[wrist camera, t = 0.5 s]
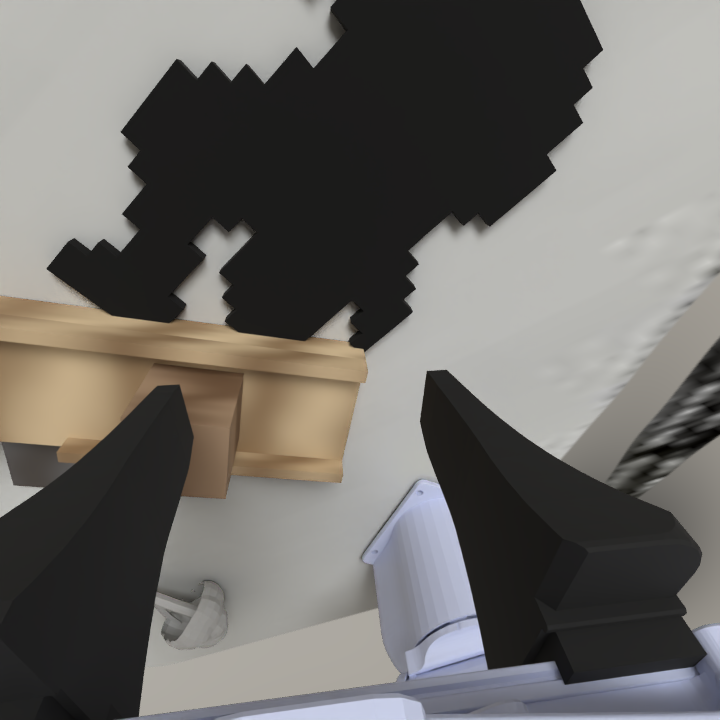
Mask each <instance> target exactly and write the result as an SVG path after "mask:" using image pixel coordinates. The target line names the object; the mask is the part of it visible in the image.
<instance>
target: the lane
mask: <svg viewBox="0 0 720 720" xmlns="http://www.w3.org/2000/svg"><path fill="white" fill-rule="evenodd" d="M154 363H158V364H167V365H176V366H184V367H193V368H202V369H211V370H219V371H228V372H237V373H244V380H243V393H242V406H241V420H240V433H239V441H238V445H237V450H236V454H235V459H234V463H233V467H232V472H231V475H240V476H254V477H267V478H281V479H295V480H308V481H322V482H335V483H341V481H342V477H343V467H342V458H343V454H344V450H345V445H346V441H347V437H348V433H349V428H350V424H351V420H352V416H353V411H354V407H355V403H356V399H357V394H358V390H359V386H360V382H361V383H365V382H366V378H367V374H368V369H367V364H366V359H365V354H364V349H359V348H354V347H353V346H351V345H350V342H345V341H338V340H330V339H323V338H315V337H309V338H308V339H307V340H306V341H298V340H291V339H283V338H275V337H268V336H260V335H253V334H245V333H239V332H237V331H236V330H235V329H234V328H232V327H231V326H224V325H217V324H209V323H202V322H194V321H187V320H179V319H173V320H172V321H171V323H170V324H169V323H162V322H154V321H147V320H139V319H131V318H124V317H116V316H111V315H110V314H109V313H107V312H106V311H104V310H103V309H96V308H88V307H81V306H73V305H66V304H58V303H50V302H43V301H35V300H28V299H20V298H13V297H5V296H0V441H1V442H2V445H3V449H4V452H5V456H6V459H7V463H8V467H9V470H10V474H11V477H12V481H13V485H18V486H33V487H46V486H47V485H49V484H50V483H51V482H52V481H54V480H55V479H56V478H58V477H59V476H60V475H62V474H63V473H64V472H65V471H67V470H68V469H69V468H70V467H72V466H73V465H74V464H75V463H77V462H78V461H79V460H80V459H81V458H82V457H83V456H85V455H86V454H87V453H88V452H89V451H90V450H91V449H92V448H94V447H95V446H96V445H97V444H98V443H99V442H100V441H101V440H103V439H104V438H105V437H106V436H107V435H108V434H109V433H110V432H111V431H112V430H113V429H114V428H115V427H116V426H117V425H118V424H119V423H120V422H121V421H120V418H121V416H122V414H123V413H124V411H125V409H126V408H127V406H128V405H129V403H130V401H131V400H132V398H133V396H134V395H135V393H136V392H137V390H138V388H139V387H140V385H141V383H142V382H143V380H144V379H145V377H146V375H147V374H148V372H149V370H150V369H151V367H152V366H153V364H154Z"/></svg>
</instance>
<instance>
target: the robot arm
mask: <svg viewBox="0 0 720 720" xmlns="http://www.w3.org/2000/svg"><path fill="white" fill-rule="evenodd" d="M420 424H421V428H422V433H423V437H424V441H425V445H426V449H427V453H428V455H429V458H430V461H431V463H432V466H433V469H434V472H435V474H436V477H437V480H438V482H439V484H438V483H434V482H431V481H428V480H419V481H418V482H416V484H415V485H414V486H413V488H412V489H411V490H410V492H409V493H408V494H407V496H406V497H405V499H404V500H403V501H402V503H401V504H400V505H399V507H398V508H397V509H396V511H395V512H394V513H393V515H392V516H391V517H390V519H389V520H388V521H387V523H386V524H385V525H384V527H383V528H382V530H381V531H380V532H379V534H378V535H377V536H376V538H375V539H374V540H373V542H372V543H371V544H370V546H369V547H368V548H367V550H366V551H365V552H364V554H363V556H362V559H363V562H364V563H367V564H372V565H373V570H374V578H375V586H376V594H377V602H378V609H379V618H380V626H381V633H382V639H383V643H384V646H385V649H386V651H387V653H388V656H389V657H390V659H391V661H392V662H393V664H394V666H395V667H396V668H397V670H398V671H399V672H400V673H401V674H400V675H399V676H398V678H397V681H396V682H394V683H387V684H379V685H372V686H364V687H356V688H349V689H342V690H334V691H327V692H320V693H312V694H305V695H297V696H289V697H282V698H275V699H267V700H260V701H252V702H245V703H237V704H230V705H222V706H216V707H207V708H200V709H192V710H185V711H178V712H170V713H163V714H155V715H148V716H141V717H139V709H140V708H139V707H140V700H141V693H142V684H143V676H144V669H145V662H146V655H147V648H148V641H149V635H150V628H151V622H152V616H153V610H154V604H155V598H156V592H157V587H158V582H159V577H160V571H161V566H162V561H163V556H164V552H165V548H166V544H167V540H168V537H169V533H170V530H171V527H172V523H173V520H174V517H175V514H176V510H177V507H178V504H179V500H180V497H181V494H182V491H183V487H184V484H185V480H186V477H187V474H188V470H189V465H190V459H191V453H192V446H193V439H194V435H193V431H192V428H191V424H190V421H189V417H188V413H187V410H186V406H185V402H184V399H183V395H182V391H181V388H180V384H178V385H160V386H156V387H155V388H154V389H153V390H152V391H151V392H150V393H149V394H148V395H147V396H146V397H145V398H144V399H143V400H142V401H141V402H140V403H139V404H138V405H137V406H136V407H135V408H134V409H133V410H132V411H131V412H130V414H129V415H128V416H127V417H126V418H125V419H123V420H122V421H121V422H120V423H119V424H118V425H117V426H116V427H115V428H114V429H113V430H112V431H111V432H110V433H109V434H108V435H107V436H106V437H105V438H104V439H103V440H101V441H100V442H99V443H98V444H97V445H96V446H95V447H94V448H92V449H91V450H90V451H89V452H88V453H87V454H86V455H85V456H83V457H82V458H81V459H80V460H79V461H78V462H77V463H75V464H74V465H73V466H72V467H70V468H69V469H68V470H67V471H65V472H64V473H63V474H62V475H60V476H59V477H58V478H56V479H55V480H54V481H52V482H51V483H50V484H49V485H47V486H46V487H45V488H43V489H42V490H40V491H39V492H38V493H36V494H35V495H33V496H32V497H30V498H29V499H27V500H26V501H24V502H23V503H21V504H20V505H18V506H17V507H15V508H14V509H13V510H11V511H10V512H8V513H7V514H5V515H4V516H2V517H1V518H0V720H720V623H714V624H708V625H704V626H701V627H698V628H696V629H694V630H692V631H691V630H690V628H689V627H688V625H687V624H686V622H685V621H684V620H683V618H682V616H684V615H685V614H686V613H687V612H686V608H685V606H684V605H683V604H682V602H681V601H680V600H679V598H678V597H677V595H676V594H677V593H678V592H679V591H680V590H681V588H682V587H683V586H684V585H685V583H687V581H688V580H689V579H690V578H691V577H692V576H693V574H694V573H695V572H696V570H697V568H698V567H699V565H700V562H701V557H702V552H701V550H700V547H699V546H698V544H697V543H696V542H695V541H694V540H693V538H692V537H691V536H690V535H689V534H688V533H687V531H686V530H685V529H684V528H683V526H682V525H681V524H680V523H679V522H678V520H677V519H676V518H675V517H674V516H673V514H672V513H671V512H669V511H666V510H664V509H662V508H659V507H657V506H654V505H652V504H649V503H647V502H644V501H642V500H640V499H637V498H635V497H632V496H630V495H627V494H625V493H623V492H621V491H619V490H617V489H614V488H612V487H610V486H608V485H606V484H604V483H602V482H600V481H598V480H596V479H594V478H592V477H590V476H588V475H586V474H584V473H582V472H580V471H578V470H577V469H575V468H573V467H571V466H570V465H568V464H566V463H564V462H563V461H561V460H559V459H557V458H556V457H554V456H553V455H551V454H549V453H548V452H546V451H545V450H543V449H542V448H540V447H539V446H537V445H536V444H534V443H533V442H531V441H530V440H528V439H527V438H525V437H524V436H523V435H521V434H520V433H518V432H517V431H516V430H515V429H513V428H512V427H511V426H509V425H508V424H507V423H505V422H504V421H503V420H502V419H500V418H499V417H498V416H497V415H496V414H494V413H493V412H492V411H491V410H490V409H489V408H487V407H486V406H485V405H484V404H483V403H482V402H481V401H479V400H478V399H477V398H476V397H475V396H474V395H473V394H472V393H471V392H470V391H469V390H467V389H466V388H465V387H464V386H463V385H462V384H461V383H460V382H459V381H458V380H457V379H456V378H455V377H454V376H453V375H452V374H450V373H449V372H448V371H447V370H437V371H427V374H426V381H425V389H424V396H423V403H422V411H421V418H420ZM419 490H421V491H419Z"/></svg>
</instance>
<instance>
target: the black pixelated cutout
mask: <svg viewBox="0 0 720 720" xmlns="http://www.w3.org/2000/svg"><path fill="white" fill-rule="evenodd" d="M331 11H332V13H333V14H334V15H335V17H336V18H337V20H338V21H339V22H340V24H341V25H342V26H343V28H344V29H345V31H346V32H345V33H344V35H343V36H342V37H341V38H340V39H339V40H338V41H337V43H336V44H335V45H334V46H333V47H332V48H331V49H330V50H329V52H328V53H327V54H326V55H325V56H324V57H323V58H322V59H321V61H320V62H319V63H318V64H317V65H316V66H315V67H314V68H313V67H312V66H311V65H310V63H309V62H308V61H307V60H306V58H305V57H304V56H303V55H302V53H301V52H300V51H299V49H298V48H297V47H296V48H295V49H294V51H293V52H292V53H291V54H290V55H289V56H288V58H287V59H286V60H285V61H284V62H283V63H282V65H281V66H280V67H279V68H278V69H277V70H276V72H275V73H274V74H273V75H272V76H271V77H270V79H269V80H268V81H267V82H266V83H265V84H264V83H263V82H262V80H261V79H260V78H259V77H258V76H257V75H256V73H255V72H254V71H253V70H252V69H251V68H250V66H249V65H247V64H246V65H245V66H244V67H243V68H242V69H241V71H240V72H239V73H238V74H237V75H236V77H235V78H234V79H233V80H232V81H231V80H230V79H229V78H228V77H227V76H226V75H225V73H224V72H223V71H222V70H221V69H220V68H219V67H218V66H217V65H216V63H214V62H211V63H210V64H209V65H208V67H207V68H206V69H205V70H204V72H203V73H202V74H201V75H200V77H199V78H197V77H196V76H195V75H194V74H193V73H192V72H191V71H190V70H189V69H188V67H187V66H186V65H185V64H184V63H183V62H182V61H181V60H178V59H176V60H175V62H174V63H173V64H172V66H171V67H170V68H169V70H168V71H167V72H166V73H165V75H164V76H163V77H162V79H161V80H160V81H159V83H158V84H157V85H156V87H155V88H154V89H153V90H152V92H151V93H150V94H149V96H148V97H147V98H146V100H145V101H144V102H143V103H142V105H141V106H140V107H139V109H138V110H137V111H136V113H135V114H134V115H133V117H132V118H131V119H130V120H129V122H128V123H127V124H126V126H125V127H124V128H123V130H122V131H121V133H122V134H123V135H124V136H125V137H126V138H128V139H129V140H130V141H131V142H132V143H133V144H134V145H135V146H136V147H137V148H138V149H139V150H140V152H139V153H138V154H137V156H136V157H135V158H134V160H133V161H132V162H131V163H130V165H129V166H128V168H129V169H131V170H132V171H133V172H134V173H135V174H136V175H137V176H138V177H140V178H141V179H142V180H143V181H144V182H145V183H146V186H145V187H144V188H143V189H142V190H141V192H140V193H139V194H138V195H137V196H136V198H135V199H134V200H133V201H132V202H131V204H130V205H129V206H128V207H127V209H126V210H125V211H124V212H123V213H122V215H124V216H125V217H126V218H127V219H128V220H130V221H131V222H132V223H133V224H134V225H136V226H137V227H138V228H139V229H140V230H139V232H138V233H137V234H136V235H135V236H134V237H133V239H132V240H131V241H130V242H129V243H128V244H127V246H126V247H125V248H124V249H123V250H122V251H121V252H120V251H119V250H117V249H116V248H115V247H114V246H112V245H111V244H110V243H108V242H107V241H106V240H105V239H103V240H102V241H100V242H98V244H97V245H96V246H95V247H94V248H93V250H92V251H91V250H89V249H88V248H87V247H85V246H84V245H83V244H81V243H80V242H79V241H77V240H76V239H75V238H74V239H72V240H70V241H68V242H67V244H66V245H65V246H64V247H63V249H62V250H61V251H60V252H59V254H58V255H57V256H56V257H55V259H54V260H53V261H52V262H51V264H50V265H49V266H48V267H47V270H49V271H50V272H51V273H53V274H54V275H56V276H57V277H58V278H60V279H61V280H63V281H64V282H65V283H67V284H68V285H70V286H71V287H72V288H74V289H75V290H77V291H78V292H79V293H81V294H82V295H84V296H85V297H86V298H88V299H89V300H91V301H92V302H93V303H95V304H96V305H97V306H99V307H100V308H102V309H103V310H104V311H106V312H107V313H109V314H110V315H111V316H116V317H124V318H131V319H139V320H147V321H154V322H162V323H169V324H170V323H171V321H172V320H173V319H174V318H175V317H176V316H177V315H178V314H179V313H180V312H181V311H182V310H183V309H184V308H185V306H186V303H184V302H183V301H182V300H181V299H179V298H178V297H177V296H176V295H174V294H173V293H172V292H173V291H174V290H175V289H176V288H177V286H178V285H179V284H180V283H181V282H182V281H183V280H184V279H185V278H186V277H187V276H188V275H189V274H190V273H191V272H192V271H193V270H194V268H195V267H196V266H197V265H198V264H199V263H200V262H201V261H202V260H203V259H204V258H205V256H206V254H204V253H203V252H202V251H201V250H200V249H199V248H198V247H196V246H195V245H194V244H193V243H192V242H191V240H192V239H193V238H194V237H195V236H196V235H197V234H198V233H199V231H200V230H201V229H202V228H203V227H204V226H205V225H206V224H207V223H208V222H209V220H210V219H211V218H212V217H213V218H214V219H215V220H216V221H217V222H218V223H219V224H221V225H222V226H223V227H224V228H225V229H226V230H227V231H228V232H229V231H230V230H231V229H232V228H233V227H234V226H235V225H236V224H237V223H238V222H239V221H240V220H241V219H243V220H244V221H245V222H247V223H248V224H249V225H250V226H251V227H252V228H253V229H254V230H255V231H256V233H255V234H254V235H253V236H252V237H251V238H250V239H249V240H248V241H247V243H246V244H245V245H244V246H243V247H242V248H241V249H240V250H239V251H238V252H237V253H236V254H235V255H234V256H233V257H232V258H231V259H230V260H229V261H228V262H227V263H226V264H225V265H224V266H223V267H222V268H221V270H220V272H219V273H220V274H221V275H222V276H224V277H225V278H226V279H227V280H228V281H229V282H231V283H232V284H233V285H232V286H231V287H230V288H229V289H228V290H227V291H226V292H225V293H224V295H223V297H222V298H223V299H224V300H225V301H227V302H228V303H229V304H230V305H231V306H233V307H234V308H235V309H234V310H233V311H232V312H231V313H230V314H229V315H228V316H227V317H226V320H225V322H226V323H227V324H229V325H230V326H231V327H232V328H234V329H235V330H236V331H237V332H239V333H245V334H253V335H260V336H268V337H275V338H283V339H291V340H298V341H306V340H307V339H308V338H309V337H310V336H312V335H313V334H314V333H315V332H316V331H317V330H318V329H319V328H321V327H322V326H323V325H324V324H325V323H326V322H327V321H329V320H330V319H331V318H332V317H333V316H334V315H335V314H337V313H338V312H339V311H340V310H341V309H342V308H343V307H344V306H346V305H347V304H348V303H349V302H350V301H351V300H353V301H354V302H355V303H356V304H357V305H358V306H359V307H360V309H359V310H358V311H357V312H356V313H355V314H354V315H352V316H351V317H350V319H351V323H352V324H353V325H354V326H355V327H356V328H357V329H358V330H359V331H358V332H357V333H355V334H354V335H353V336H352V337H351V338H349V340H350V345H351V346H353V347H354V348H359V349H364V352H365V351H366V350H368V349H369V348H370V347H371V346H372V345H374V344H375V343H376V342H377V341H379V340H380V339H381V338H382V337H383V336H385V335H386V334H387V333H388V332H389V331H391V330H392V329H393V328H394V327H396V326H397V325H398V324H399V323H400V322H402V321H403V320H404V319H405V318H406V317H408V316H409V315H410V314H411V313H412V312H413V311H412V309H411V307H410V306H409V305H408V304H407V303H406V302H405V300H404V298H406V297H407V296H408V295H409V294H410V293H412V292H413V291H414V290H415V289H416V288H415V286H414V284H413V283H412V282H411V281H410V280H409V279H408V278H407V277H406V275H407V274H408V273H409V272H410V271H412V270H413V269H414V268H415V267H416V266H417V265H419V264H418V262H417V260H416V259H415V258H414V257H413V256H412V254H411V253H410V252H409V251H408V250H409V249H410V248H411V247H413V246H414V245H415V244H416V243H417V242H418V241H419V240H421V239H422V238H423V237H424V236H425V235H426V234H427V233H428V232H430V231H431V230H432V229H433V228H434V227H435V226H436V225H438V224H439V223H440V222H441V221H442V220H443V219H444V218H445V217H447V216H448V215H449V214H450V213H451V212H452V213H453V214H454V215H455V217H456V218H457V219H458V221H459V222H460V223H461V224H462V225H465V224H466V223H467V222H469V221H470V220H471V219H472V218H473V217H474V216H476V215H477V214H479V215H480V217H481V218H482V219H483V221H484V222H485V223H486V224H487V225H489V226H491V225H492V224H493V223H495V222H496V221H497V220H498V219H499V218H501V217H502V216H503V215H504V214H505V213H507V212H508V211H509V210H510V209H511V208H512V207H514V206H515V205H516V204H517V203H518V202H520V201H521V200H522V199H523V198H524V197H526V196H527V195H528V194H529V193H530V192H531V191H533V190H534V189H535V188H536V187H537V186H539V185H540V184H541V183H542V182H543V181H545V180H546V179H547V178H548V177H549V176H550V175H552V174H553V173H554V172H555V171H556V169H555V167H554V166H553V164H552V162H551V161H550V159H549V157H548V156H547V154H548V153H549V152H550V151H551V150H552V149H553V148H554V147H556V146H557V145H558V144H559V143H560V142H561V141H563V140H564V139H565V138H566V137H567V136H568V135H570V134H571V133H572V132H573V131H574V130H575V129H577V128H578V127H579V126H580V125H581V124H582V123H583V122H582V120H581V118H580V116H579V114H578V112H577V110H576V108H575V107H574V104H575V103H576V102H577V101H578V100H579V99H581V98H582V97H583V96H584V95H585V94H586V93H587V92H588V91H590V90H591V89H592V88H593V87H592V85H591V83H590V81H589V79H588V77H587V75H586V73H585V71H584V69H583V68H584V67H585V66H586V65H587V64H588V63H589V62H590V61H591V60H593V59H594V58H595V57H596V56H597V55H598V54H599V53H600V52H601V51H603V48H602V46H601V44H600V42H599V40H598V38H597V36H596V33H595V31H594V29H593V27H592V25H591V23H590V20H589V18H588V16H587V14H586V12H585V10H584V7H583V5H582V3H581V1H580V0H336V1H335V3H334V4H333V5H332V6H331Z"/></svg>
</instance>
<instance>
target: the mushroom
mask: <svg viewBox="0 0 720 720" xmlns="http://www.w3.org/2000/svg"><path fill="white" fill-rule="evenodd" d="M199 585H204V590H203V593H201V596H200V597H199V598H197V599H196V600H194V601H193V602H185V601H184V600H183V599H182V600H181V601H180V600H178V599H175V598H172V597H170V596H167V595H164V594H161V593H159V592H156V598H155V604H154V607H155V608H156V609H157V610H158V611H159V612H160V613H161V614H162V615H163V616H164V617H166V618H167V619H166V621H165V622H164V625H163V627H162V631H161V635H162V636H163V637H164V639H165V641H166V642H167V643H168V644H169V646H172V647H174V648H176V649H178V650H182V649H195V648H209V647H211V646H214V645H216V644H217V643H218V642H220V641H221V640H222V639H223V638H224V636H225V635H226V633H227V629H228V621H227V612H226V611H225V608H224V605H223V602H224V594H223V591H222V589H221V588H220V587H219V585H218V584H216V583H214V582H212V581H202V582H201V583H200V584H199ZM191 592H195V591H194V590H193V589H192V591H191ZM168 610H170V611H171V612H169V611H168Z"/></svg>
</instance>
